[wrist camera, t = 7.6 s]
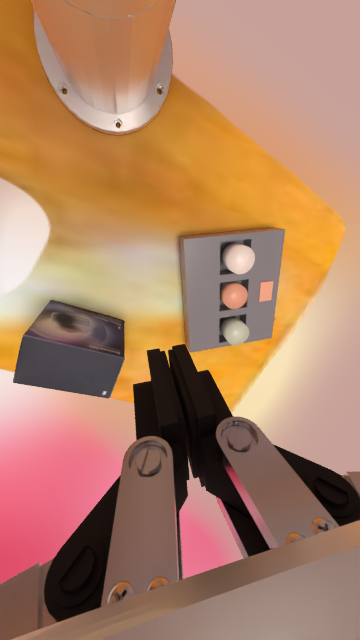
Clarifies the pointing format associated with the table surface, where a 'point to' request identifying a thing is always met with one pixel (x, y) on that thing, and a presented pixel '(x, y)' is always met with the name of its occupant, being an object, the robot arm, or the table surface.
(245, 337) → the sage button
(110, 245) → the table surface
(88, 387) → the small box
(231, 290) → the terracotta button
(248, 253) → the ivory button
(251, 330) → the button box
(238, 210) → the table surface
